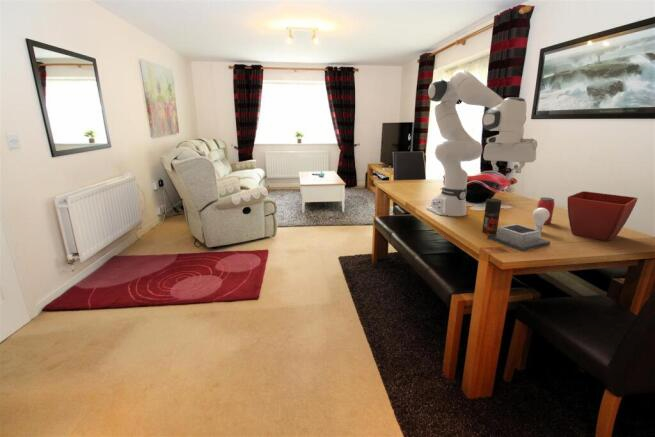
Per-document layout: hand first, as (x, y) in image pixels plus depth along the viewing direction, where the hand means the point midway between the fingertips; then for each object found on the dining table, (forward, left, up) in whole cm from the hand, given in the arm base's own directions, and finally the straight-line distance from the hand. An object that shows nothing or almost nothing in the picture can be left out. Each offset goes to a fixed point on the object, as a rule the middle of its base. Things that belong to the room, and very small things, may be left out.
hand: (506, 172), depth 135 cm
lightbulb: (+6, +18, -28) cm, 33 cm away
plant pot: (+19, +35, -28) cm, 48 cm away
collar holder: (+11, -2, -27) cm, 30 cm away
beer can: (-2, +33, -28) cm, 43 cm away
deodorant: (-2, -3, -28) cm, 28 cm away
